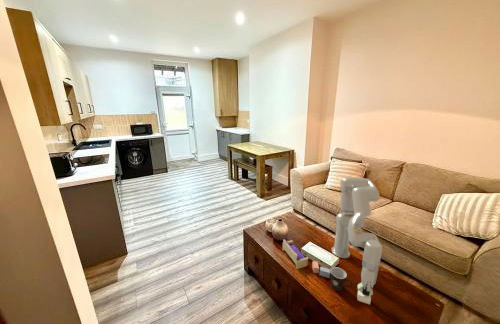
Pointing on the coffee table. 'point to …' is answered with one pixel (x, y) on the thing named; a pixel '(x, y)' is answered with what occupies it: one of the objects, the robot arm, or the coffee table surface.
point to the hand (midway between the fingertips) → (365, 291)
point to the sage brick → (360, 288)
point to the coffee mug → (338, 279)
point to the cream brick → (363, 298)
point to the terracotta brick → (315, 267)
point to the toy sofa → (294, 254)
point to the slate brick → (324, 272)
